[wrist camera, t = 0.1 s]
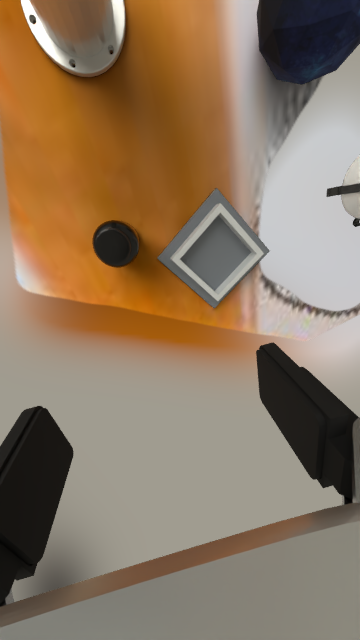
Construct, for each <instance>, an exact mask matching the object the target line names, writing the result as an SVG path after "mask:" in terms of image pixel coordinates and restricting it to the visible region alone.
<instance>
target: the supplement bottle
mask: <svg viewBox="0 0 360 640" xmlns="http://www.w3.org/2000/svg"><path fill="white" fill-rule="evenodd" d="M139 244H140V242H139V236H138V234H137V232H136V230H135V229H134V228H133V227H132V226H131V225H130V224H128V223H126V222H123V221H115V220H112V221H107V222H104V223H103V224H101V225H100V226H99V227H98V228H97V229H96V231H95V233H94V235H93V249H94V251H95V253H96V255H97V257H98V258H99V259H100V260H101V261H102V262H103V263H105V264H106V265H108V266H111V267H124V266H127V265H129V264H130V263H132V262H133V261H134V259H135V258H136V256H137V254H138V250H139Z"/></svg>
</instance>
